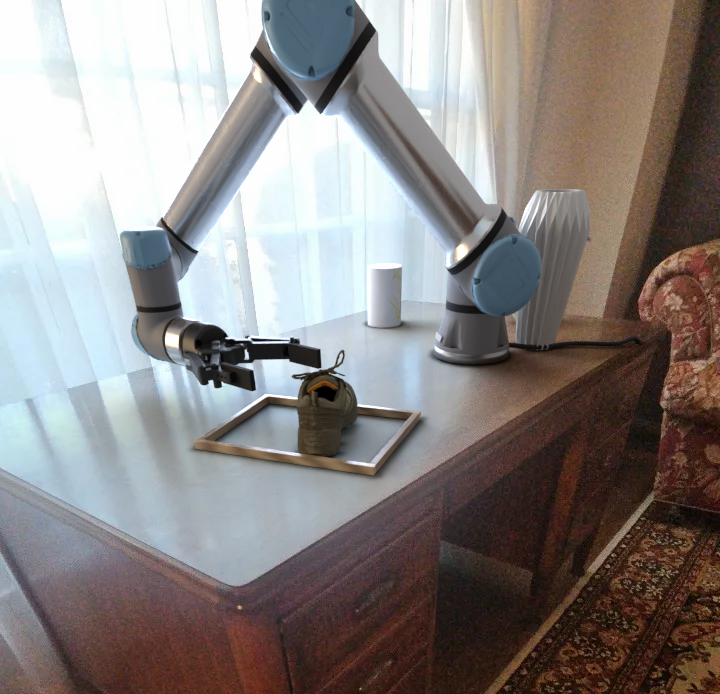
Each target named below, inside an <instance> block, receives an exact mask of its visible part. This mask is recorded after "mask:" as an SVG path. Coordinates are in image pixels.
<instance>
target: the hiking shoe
mask: <svg viewBox="0 0 720 694" xmlns="http://www.w3.org/2000/svg"><path fill="white" fill-rule="evenodd" d="M345 353H346V352H345V349H341V350H340V351H338V354H337V355H336V359H335V364H334V366H331V367H328V368H327V369H326V368H325V369H318V370H316V371H312V372H309V371H308V372H303V373H296V374H292V375H291V378H292V379H294V380H300V381H302V382H301V385H300V387H299V389H298V392H297V393H298V394H297V406H296V410H297V411H296V414H297V418H298V419H297V420H298V427H297V428H298V429H297V451H298V453H300V454H307V455H314V456H321V457H330V456H334V455H336V454H337V453H338V452H339V451H340V448H341V443H342V430H345V429H346V428H348V427H349V428H350V426H352V425H353V424H354V423H355V422H357V419H358V414H357V413H358V405H357V404H358V398H357V394H356V392H355V390H354V388H353V386H352V385H351V384H350V383H349V382H347V381H345V380H344V378H342V377H346V375H345V374H343V373H340V372H338V371H335V369H337V368H339V367H340V366H341V365H343V364H344V360H345V356H346V354H345ZM341 354H342V358H341V361H340V362H339V359H340V357H341V356H340V355H341ZM338 362H339V363H338ZM336 375H339V376H342V377H339V376H336Z"/></svg>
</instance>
